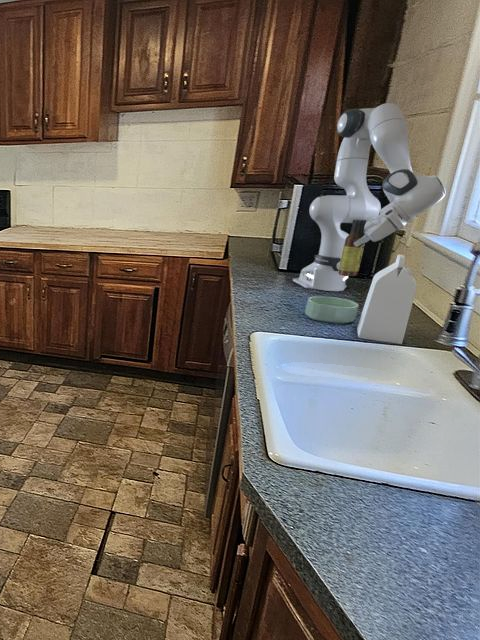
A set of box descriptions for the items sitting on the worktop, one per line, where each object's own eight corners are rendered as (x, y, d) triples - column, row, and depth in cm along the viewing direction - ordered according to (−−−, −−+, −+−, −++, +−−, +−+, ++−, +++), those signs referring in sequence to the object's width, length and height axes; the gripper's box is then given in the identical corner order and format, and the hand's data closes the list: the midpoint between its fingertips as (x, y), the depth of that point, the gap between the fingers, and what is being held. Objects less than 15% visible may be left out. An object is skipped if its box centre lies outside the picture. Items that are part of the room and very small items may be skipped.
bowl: (295, 312, 197) (298, 296, 194) (334, 311, 198) (338, 295, 196) (322, 325, 182) (326, 308, 180) (364, 324, 184) (369, 307, 181)
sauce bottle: (359, 277, 191) (374, 221, 183) (341, 276, 192) (354, 220, 184) (352, 273, 196) (366, 218, 189) (334, 272, 198) (347, 218, 190)
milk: (356, 327, 179) (377, 251, 170) (398, 333, 174) (421, 254, 164) (358, 337, 170) (380, 257, 160) (401, 344, 164) (427, 261, 155)
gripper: (379, 207, 192) (342, 233, 199) (393, 213, 174) (351, 241, 182) (391, 220, 192) (353, 246, 199) (405, 227, 174) (363, 255, 182)
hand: (352, 243), depth 190 cm, fingers closed on sauce bottle, 6 cm apart
